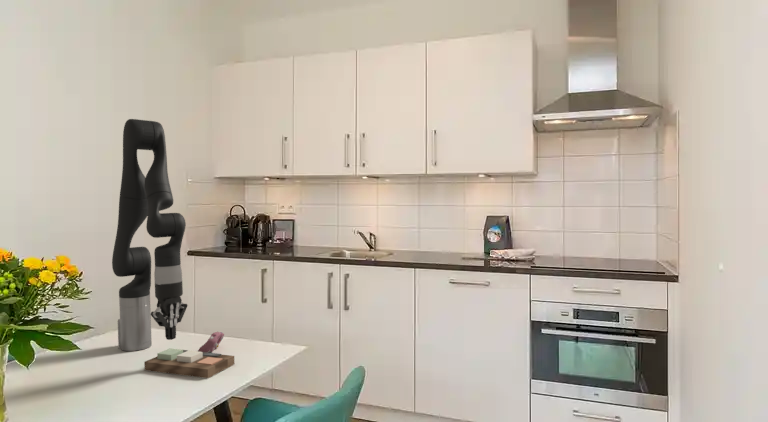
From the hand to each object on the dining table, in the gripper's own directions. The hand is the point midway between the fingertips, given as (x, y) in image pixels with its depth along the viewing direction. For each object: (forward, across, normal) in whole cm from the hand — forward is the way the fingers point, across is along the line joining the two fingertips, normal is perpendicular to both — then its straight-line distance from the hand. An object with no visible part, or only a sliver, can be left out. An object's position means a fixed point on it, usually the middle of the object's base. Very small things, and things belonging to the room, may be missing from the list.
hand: (170, 339), depth 152 cm
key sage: (+6, 0, 0) cm, 6 cm away
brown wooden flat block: (+8, 0, +6) cm, 10 cm away
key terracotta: (+8, 0, +14) cm, 16 cm away
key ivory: (+6, 0, +7) cm, 9 cm away
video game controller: (+8, -16, +2) cm, 18 cm away
